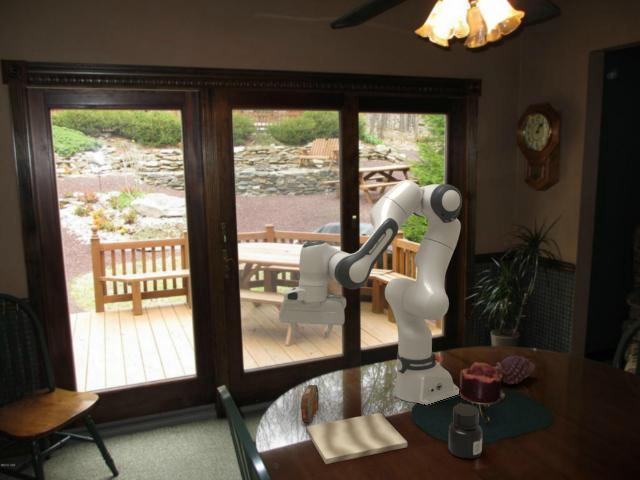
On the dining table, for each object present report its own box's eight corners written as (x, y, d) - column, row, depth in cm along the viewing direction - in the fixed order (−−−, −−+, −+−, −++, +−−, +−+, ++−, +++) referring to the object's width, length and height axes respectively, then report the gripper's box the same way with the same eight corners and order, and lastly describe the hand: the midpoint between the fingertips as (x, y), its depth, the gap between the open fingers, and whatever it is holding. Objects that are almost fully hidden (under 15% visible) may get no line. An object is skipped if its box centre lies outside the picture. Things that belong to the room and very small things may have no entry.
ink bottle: (484, 461, 138) (485, 419, 137) (449, 459, 140) (450, 417, 138) (479, 442, 148) (480, 402, 146) (447, 440, 149) (447, 400, 147)
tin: (309, 427, 158) (309, 401, 156) (299, 426, 158) (298, 400, 157) (319, 404, 172) (319, 380, 171) (310, 404, 173) (309, 379, 172)
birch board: (379, 417, 163) (379, 412, 163) (407, 447, 146) (407, 442, 146) (306, 431, 156) (306, 426, 155) (325, 464, 139) (325, 459, 138)
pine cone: (525, 373, 193) (526, 347, 192) (544, 384, 184) (546, 357, 182) (484, 381, 187) (485, 354, 186) (502, 392, 178) (504, 364, 177)
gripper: (346, 292, 164) (344, 336, 165) (281, 290, 164) (280, 333, 166) (346, 297, 157) (344, 341, 159) (278, 294, 158) (277, 338, 159)
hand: (311, 337), depth 162 cm, fingers open, 8 cm apart
